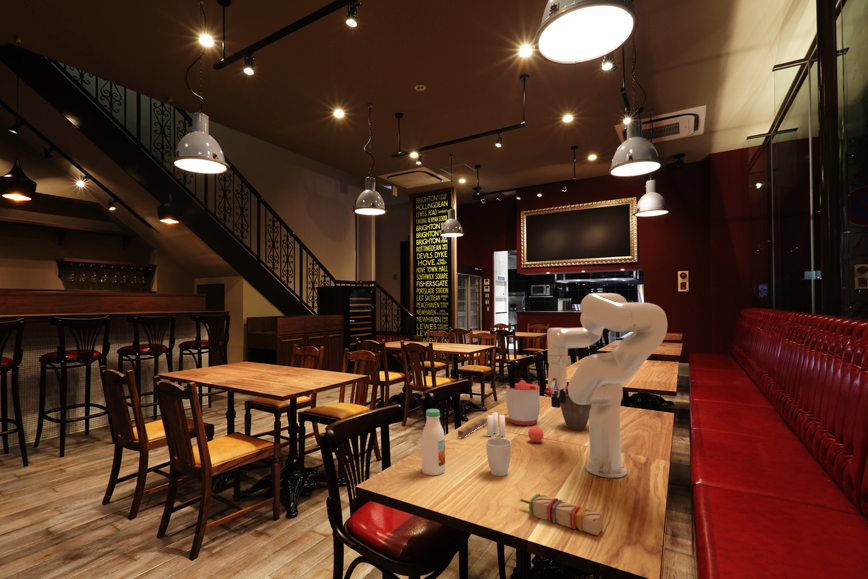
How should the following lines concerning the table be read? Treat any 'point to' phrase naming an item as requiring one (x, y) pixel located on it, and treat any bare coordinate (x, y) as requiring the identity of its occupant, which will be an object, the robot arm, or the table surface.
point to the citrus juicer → (523, 403)
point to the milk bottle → (433, 444)
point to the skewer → (565, 514)
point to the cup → (498, 455)
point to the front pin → (502, 425)
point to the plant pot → (575, 414)
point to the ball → (535, 434)
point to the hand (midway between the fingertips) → (558, 404)
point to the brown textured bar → (471, 427)
